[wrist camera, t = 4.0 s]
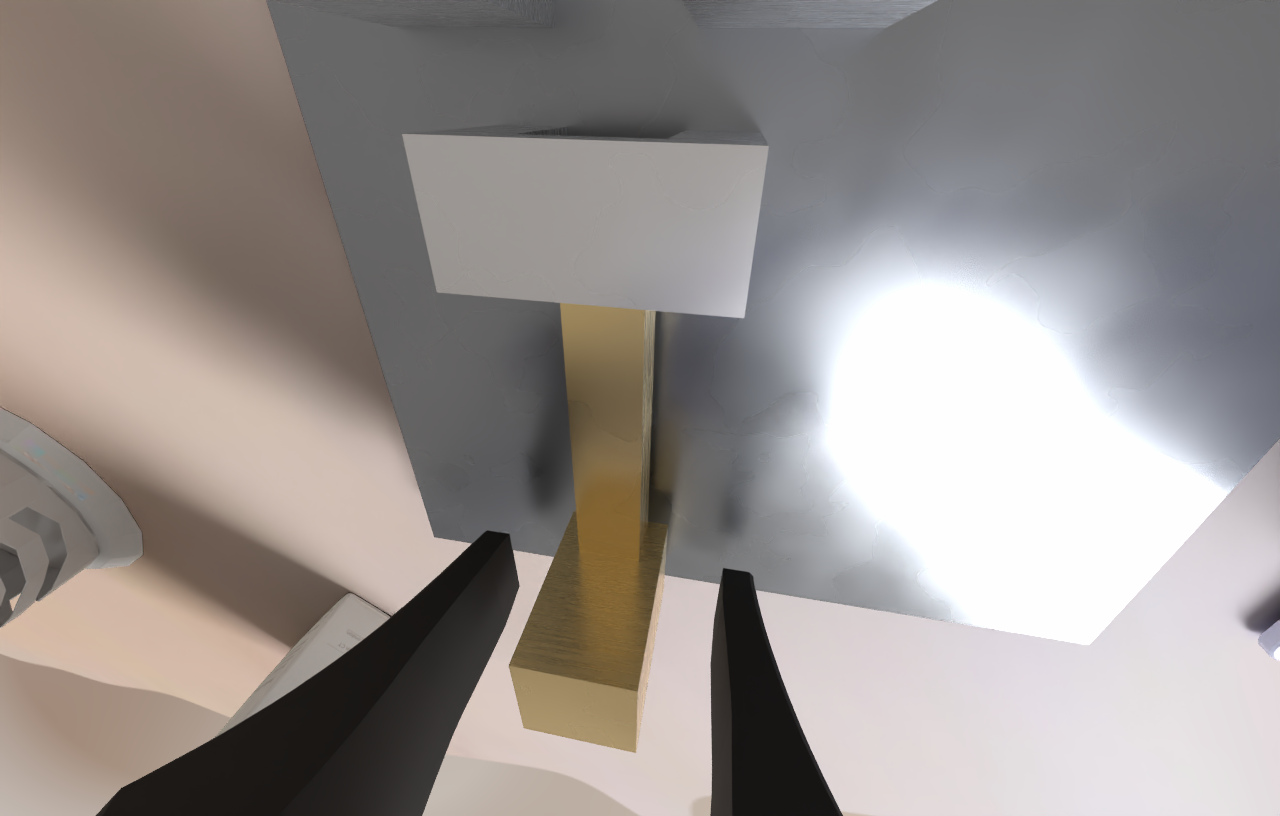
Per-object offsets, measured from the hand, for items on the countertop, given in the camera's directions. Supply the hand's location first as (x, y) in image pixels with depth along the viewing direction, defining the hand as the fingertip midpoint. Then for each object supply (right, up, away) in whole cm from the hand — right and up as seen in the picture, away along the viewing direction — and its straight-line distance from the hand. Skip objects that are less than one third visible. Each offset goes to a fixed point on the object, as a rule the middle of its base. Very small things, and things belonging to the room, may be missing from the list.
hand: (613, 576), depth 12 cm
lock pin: (0, +4, -1) cm, 4 cm away
